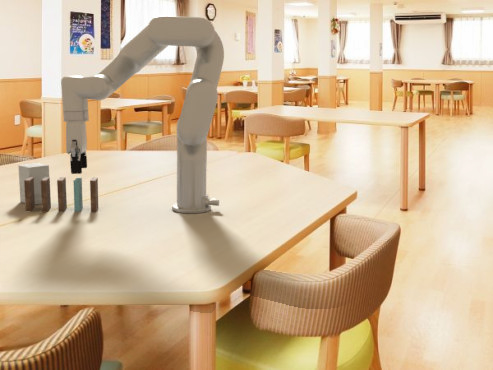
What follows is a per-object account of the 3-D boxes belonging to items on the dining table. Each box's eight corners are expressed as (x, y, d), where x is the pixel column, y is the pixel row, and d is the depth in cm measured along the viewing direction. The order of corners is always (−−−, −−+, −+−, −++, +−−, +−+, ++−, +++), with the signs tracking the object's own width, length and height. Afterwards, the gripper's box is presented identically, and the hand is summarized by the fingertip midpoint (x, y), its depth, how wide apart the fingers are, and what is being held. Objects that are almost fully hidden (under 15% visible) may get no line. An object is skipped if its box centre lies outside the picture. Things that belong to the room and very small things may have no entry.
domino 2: (51, 207, 194) (49, 177, 192) (47, 211, 189) (46, 180, 187) (45, 207, 194) (44, 177, 192) (42, 211, 189) (40, 180, 187)
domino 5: (98, 207, 196) (97, 177, 194) (96, 211, 191) (95, 180, 189) (93, 207, 195) (92, 177, 193) (90, 211, 191) (90, 180, 188)
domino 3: (66, 207, 195) (65, 177, 193) (63, 211, 190) (62, 180, 188) (61, 207, 194) (60, 177, 192) (58, 211, 190) (57, 180, 188)
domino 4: (82, 207, 195) (81, 177, 193) (79, 211, 190) (78, 180, 188) (77, 207, 195) (76, 177, 193) (74, 211, 190) (73, 180, 188)
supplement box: (51, 202, 201) (49, 165, 199) (30, 205, 196) (28, 167, 193) (40, 198, 206) (38, 162, 204) (19, 201, 201) (17, 164, 198)
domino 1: (35, 207, 194) (33, 177, 192) (31, 211, 189) (29, 180, 187) (29, 207, 193) (28, 177, 191) (25, 211, 189) (24, 180, 187)
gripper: (69, 114, 195) (72, 166, 198) (57, 119, 178) (61, 176, 181) (92, 113, 195) (95, 165, 199) (83, 119, 178) (86, 175, 182)
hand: (79, 170), depth 190 cm, fingers open, 9 cm apart
